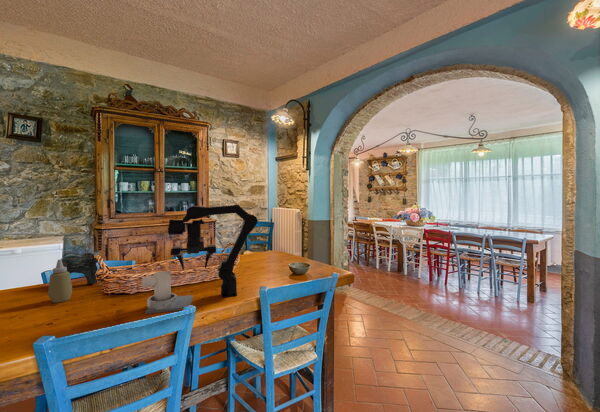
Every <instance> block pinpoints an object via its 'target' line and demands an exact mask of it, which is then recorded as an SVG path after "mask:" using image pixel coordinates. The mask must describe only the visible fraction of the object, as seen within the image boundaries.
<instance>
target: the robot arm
mask: <svg viewBox="0 0 600 412" xmlns="http://www.w3.org/2000/svg"><path fill="white" fill-rule="evenodd" d="M230 214H236V215H237V216H238V217H240V218H241V219H242V224H241V228H240V231H239V234H238V235H237V238H236V240H235V241H234V243H233V245H232V247H231V249H230V252H229V254H228V256H227V257H226V259H221V261H220V264H219V265H218V266H217V271H218V278H219V279H220V280H222V283H221V284H220V294H221V297H222V298H228V297H237V296H238V292H237V289H238V288H237V275H236V273H234V268H235V262H236V260H237V258H238V256H239V254H240V252H241V250H242V248H243V245H244V244H245V242H246V240H247V239H248V236H249V234H251V232H252V231H253V230H254V229H255V227H256V226H257V225H258V220H259V219H258V217H256V216H255V215H254V214H251V213H249V212H247V211H246V210H245V209H243V208H242V207H241V206H240V205H239V204H231V205H220V206H201V205H192V206H190V207H188V208H187V209H186V215H185V216H184V217H182V219H174V218H173V219H172V218H171V219H169V220H168V228H167V233H168V234H167V235H168V236H178V235H179V236H180V235H184V233H186V232H187V233H186V234H187V235H186V237H187V238H186V240H187V241H186V247H183V246H182V245H181V246H173V247H171V249H170V256H173V257H174V258H176V259H178V261H179V263H180V266H181V269H182V271H185V260H184V253H186V254H187V255H191V254H195V255H197V254H200V253H201V252H206V254H205V263H204V269H207V267H208V262H209V260H210V257H211V256H212V255H214V254H217V245H216V244H207V246H206V247H205V242H204V241H202V234H201V233H202V225H205V224H206V221H204V220H203V218H206V217H209V216H214V215H215V216H216V215H230ZM191 220H192V222H189V221H191Z"/></svg>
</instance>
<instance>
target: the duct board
mask: <svg viewBox="0 0 600 412" xmlns="http://www.w3.org/2000/svg"><path fill="white" fill-rule="evenodd" d="M193 298H194V296H193V294H189V295H178V294H176V293H174V292H171V299H169V300H165V301H155V299H154V294H153V295H151V296H149V297H148V298H147V300H146V303H147V307H146V310H145V314H146V315H147V314H157V313H168V311H169V312H176V311H177V312H179V311H184V310H183V308H184V307H185V306H188V305H192V303H193Z"/></svg>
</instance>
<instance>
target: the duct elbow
mask: <svg viewBox="0 0 600 412" xmlns="http://www.w3.org/2000/svg"><path fill="white" fill-rule="evenodd" d="M141 285H142V288H149V287H153V289H154V294H153V295H154V299H155V301H165V300H169V299H171V293H172V292H171V291H172V290H171V271H170V270H162V271H156V272H154V273H153V275H149V276H143V277H142V278H141Z"/></svg>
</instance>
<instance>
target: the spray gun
mask: <svg viewBox="0 0 600 412" xmlns="http://www.w3.org/2000/svg"><path fill="white" fill-rule="evenodd" d="M82 247H83V248H84V249H85V251H84V253H83V254H81V253H76V252H67V253H65V254H63V255H62V257H61V258H60V259H61V260H62V263H63V266H64V267H67V272H69V273H70V275H71V274H73V273H75V274H82V275H84V277H85V278H86V285H87V284H95V283H97V280H96V276H95V273H96V271H97V270H98V266H97V264H98V263H99V262H98V260H97V259H95V258H94V255H100V256H101V257H102V255H101V253H100V252H99V250H98V249H95V250H93V251H89V250H87V248H86V246H84V245H80V246H79V247H78V249H80V248H82ZM72 254H73V255H72ZM97 284H98V283H97ZM95 285H96V284H95Z"/></svg>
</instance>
